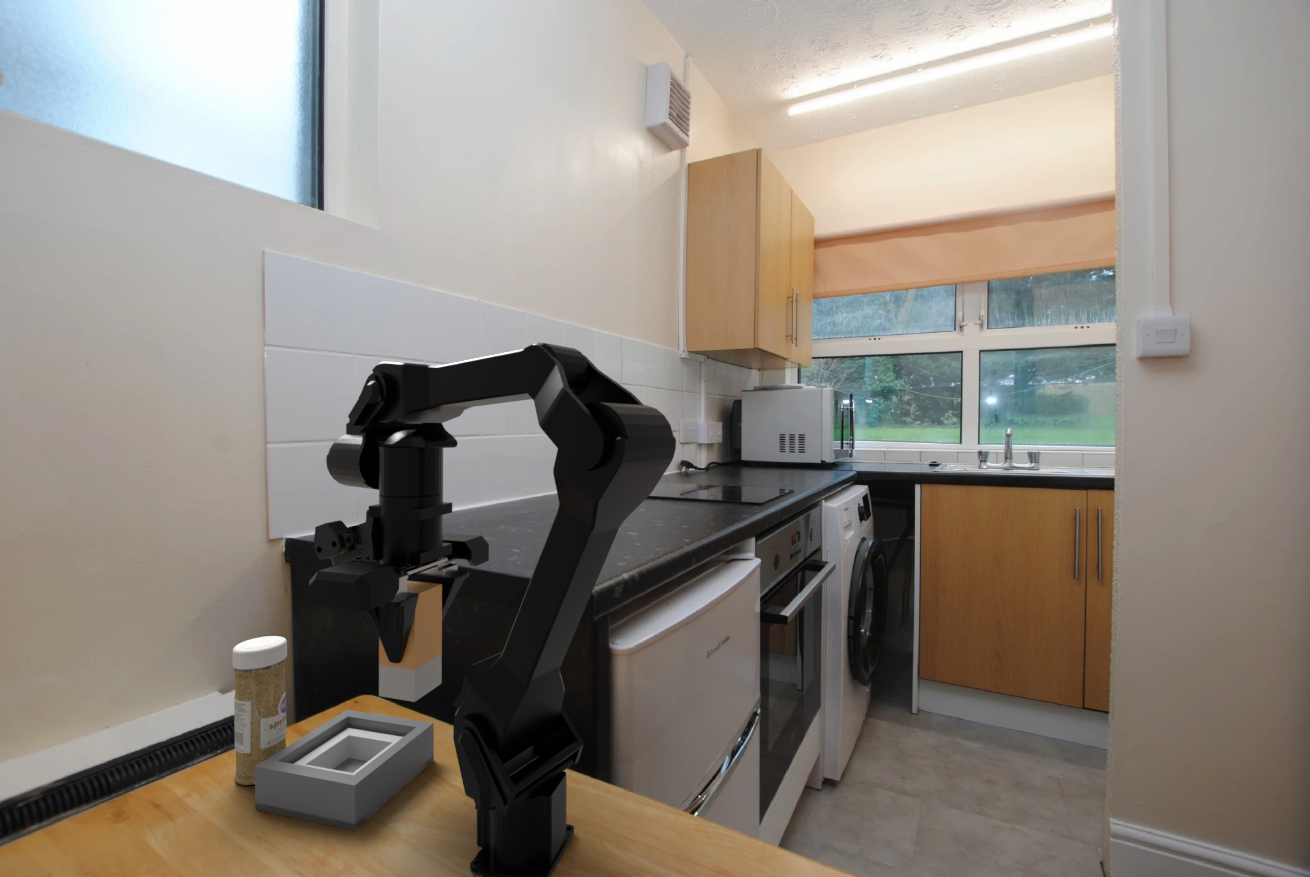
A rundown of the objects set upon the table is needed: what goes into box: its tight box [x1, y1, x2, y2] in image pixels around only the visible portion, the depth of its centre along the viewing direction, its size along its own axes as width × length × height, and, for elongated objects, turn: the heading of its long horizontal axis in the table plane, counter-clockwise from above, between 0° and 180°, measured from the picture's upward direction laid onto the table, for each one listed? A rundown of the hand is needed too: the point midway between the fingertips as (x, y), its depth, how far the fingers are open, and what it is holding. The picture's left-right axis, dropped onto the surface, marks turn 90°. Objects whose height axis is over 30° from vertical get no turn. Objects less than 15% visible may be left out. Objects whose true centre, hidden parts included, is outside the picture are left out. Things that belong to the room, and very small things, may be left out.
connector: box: [378, 580, 443, 703], centre depth 56 cm, size 4×4×10 cm
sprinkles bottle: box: [231, 635, 288, 786], centre depth 58 cm, size 5×5×14 cm
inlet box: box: [254, 709, 435, 832], centre depth 57 cm, size 11×11×4 cm
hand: (411, 653), depth 56 cm, fingers closed on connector, 4 cm apart
